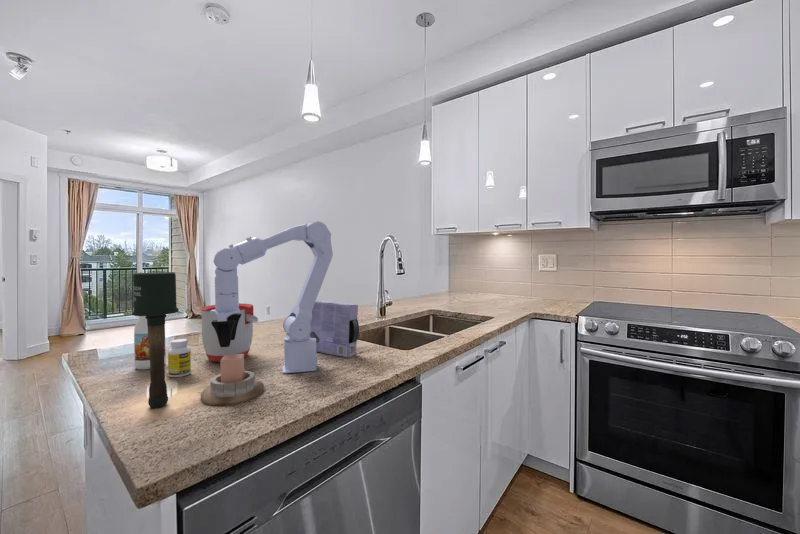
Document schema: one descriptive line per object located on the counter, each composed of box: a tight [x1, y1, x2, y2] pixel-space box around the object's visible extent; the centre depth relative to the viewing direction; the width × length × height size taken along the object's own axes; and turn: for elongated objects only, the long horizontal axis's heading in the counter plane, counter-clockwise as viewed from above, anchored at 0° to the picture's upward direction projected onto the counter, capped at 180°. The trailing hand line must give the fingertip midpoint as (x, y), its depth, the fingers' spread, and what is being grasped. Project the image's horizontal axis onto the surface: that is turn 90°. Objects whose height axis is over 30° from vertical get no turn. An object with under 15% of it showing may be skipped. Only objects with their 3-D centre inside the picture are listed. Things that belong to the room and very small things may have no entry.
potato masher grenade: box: [131, 271, 180, 409], centre depth 79 cm, size 8×9×30 cm
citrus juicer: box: [200, 303, 259, 363], centre depth 116 cm, size 16×17×20 cm
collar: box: [200, 370, 265, 406], centre depth 87 cm, size 14×14×4 cm
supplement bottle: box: [167, 338, 192, 378], centre depth 100 cm, size 5×5×10 cm
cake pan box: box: [309, 299, 360, 359], centre depth 122 cm, size 19×5×18 cm, turn 60°
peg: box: [219, 354, 245, 383], centre depth 86 cm, size 4×4×8 cm
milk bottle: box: [133, 316, 167, 371], centre depth 107 cm, size 8×8×20 cm
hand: (227, 343), depth 96 cm, fingers open, 7 cm apart
